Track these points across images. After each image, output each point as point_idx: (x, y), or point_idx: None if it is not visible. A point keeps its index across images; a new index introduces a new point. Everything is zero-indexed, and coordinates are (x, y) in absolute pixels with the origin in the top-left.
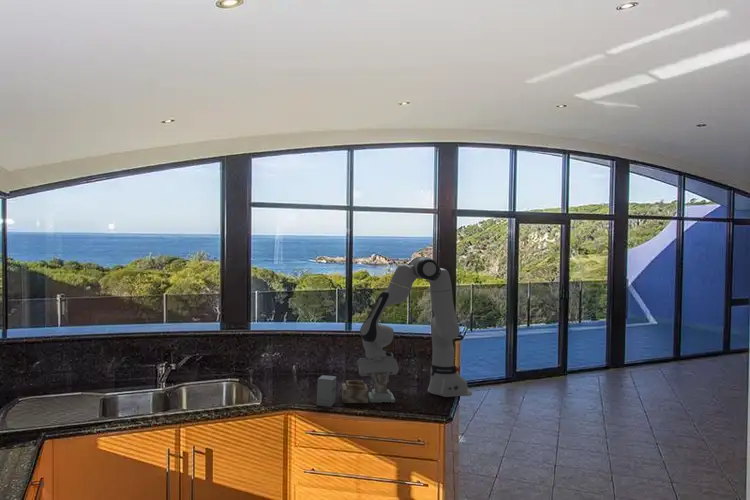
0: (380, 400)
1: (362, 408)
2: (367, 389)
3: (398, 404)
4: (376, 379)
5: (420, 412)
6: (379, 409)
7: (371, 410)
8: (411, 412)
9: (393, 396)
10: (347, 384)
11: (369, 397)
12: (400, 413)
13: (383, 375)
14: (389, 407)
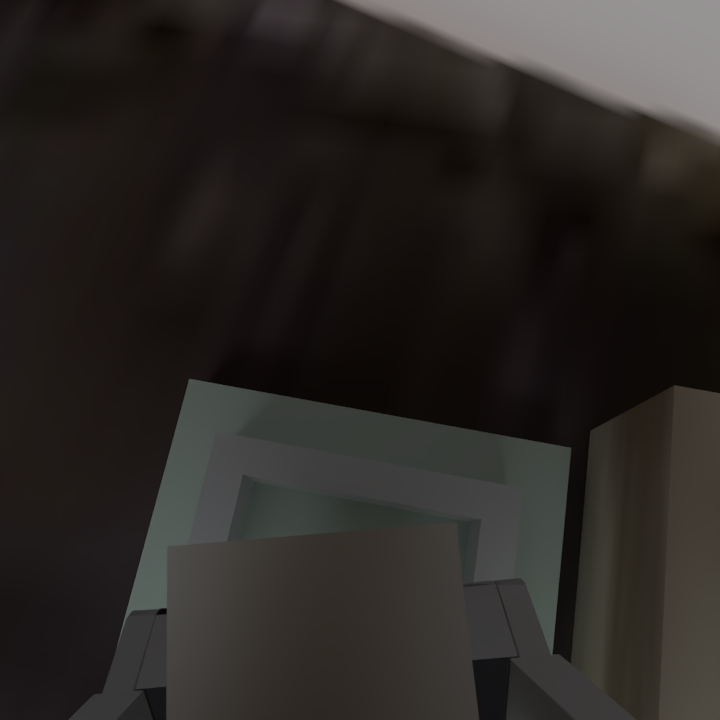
0: (409, 423)
1: (704, 226)
2: (688, 461)
3: (186, 308)
4: (506, 616)
5: (65, 6)
6: (498, 161)
7: (604, 143)
8: (164, 19)
9: (148, 541)
10: None
11: (560, 557)
12: (299, 9)
13: (299, 568)
14: (351, 212)
